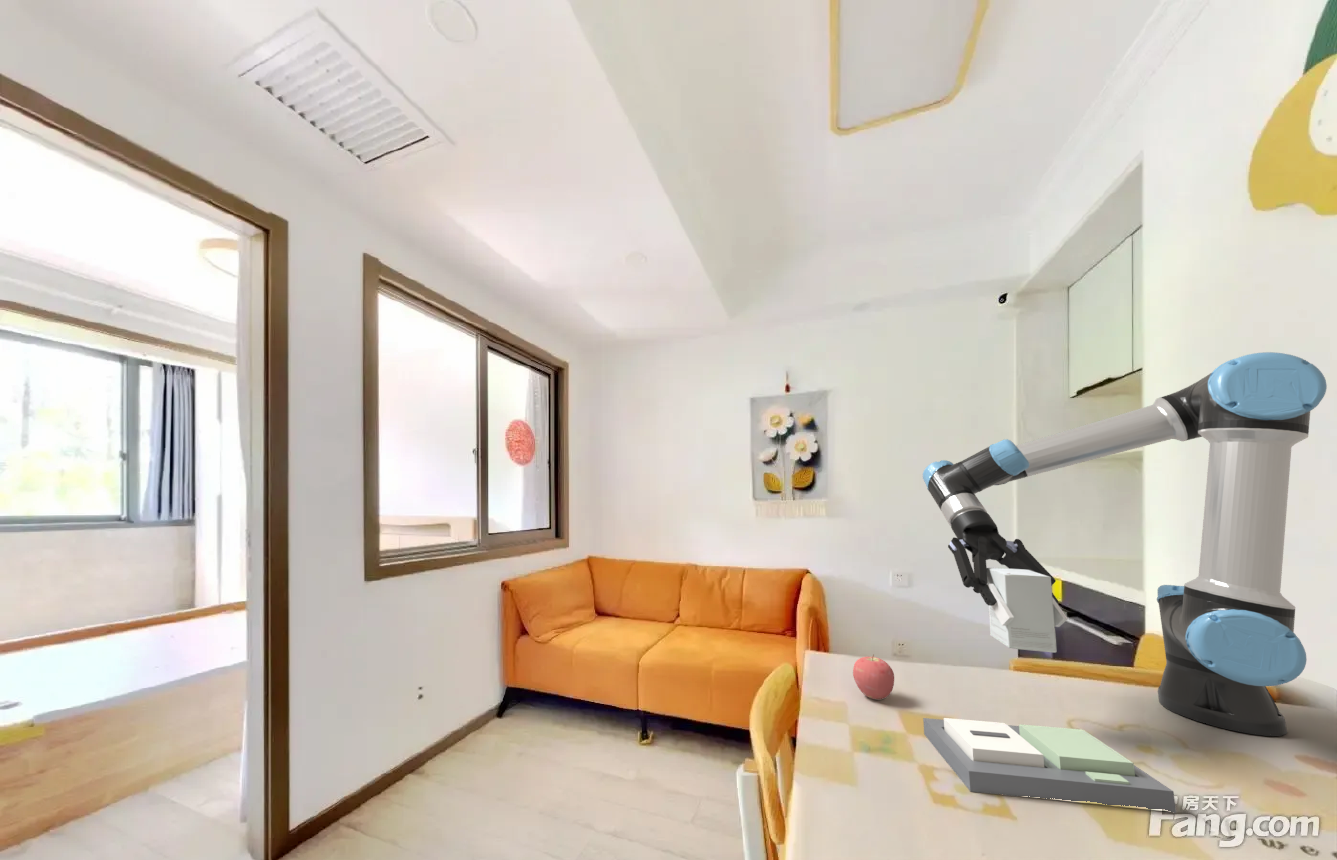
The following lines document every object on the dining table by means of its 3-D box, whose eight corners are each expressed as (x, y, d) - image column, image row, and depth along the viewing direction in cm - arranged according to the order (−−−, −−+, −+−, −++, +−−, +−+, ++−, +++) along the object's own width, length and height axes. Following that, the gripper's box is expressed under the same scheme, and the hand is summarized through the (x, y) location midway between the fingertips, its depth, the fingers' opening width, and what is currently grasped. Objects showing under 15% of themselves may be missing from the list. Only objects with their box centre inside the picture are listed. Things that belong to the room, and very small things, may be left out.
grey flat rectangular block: (1085, 748, 72) (1082, 720, 72) (1176, 813, 57) (1171, 776, 58) (924, 734, 75) (922, 707, 76) (970, 791, 60) (967, 757, 61)
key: (1084, 743, 69) (1082, 729, 70) (1135, 779, 61) (1133, 763, 61) (1020, 738, 71) (1018, 724, 71) (1060, 772, 62) (1059, 756, 62)
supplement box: (1058, 653, 76) (1052, 576, 78) (1008, 649, 78) (1003, 573, 79) (1034, 639, 83) (1029, 569, 85) (989, 635, 85) (984, 566, 86)
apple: (864, 686, 94) (862, 646, 95) (901, 698, 89) (898, 655, 90) (847, 696, 89) (845, 653, 90) (885, 709, 84) (883, 664, 85)
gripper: (1011, 532, 98) (1084, 634, 80) (912, 530, 98) (963, 631, 80) (1028, 509, 93) (1110, 612, 75) (924, 507, 93) (982, 609, 76)
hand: (1034, 622), depth 78 cm, fingers closed on supplement box, 8 cm apart
